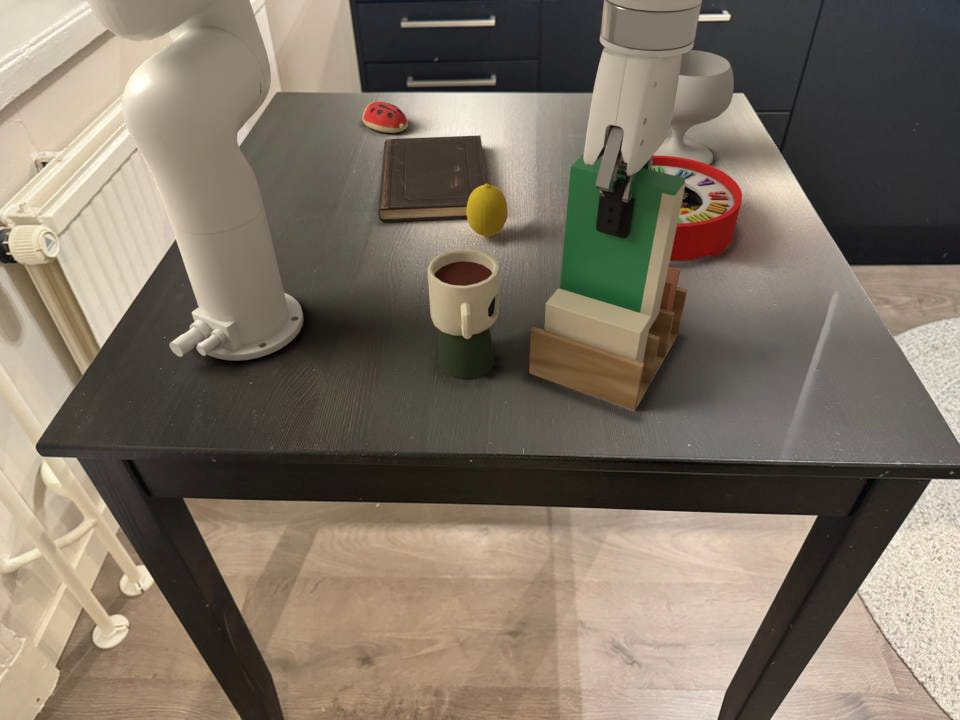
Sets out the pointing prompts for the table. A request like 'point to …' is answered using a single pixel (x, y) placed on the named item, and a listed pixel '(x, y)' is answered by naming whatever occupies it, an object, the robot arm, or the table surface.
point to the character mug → (464, 310)
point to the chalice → (698, 102)
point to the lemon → (486, 210)
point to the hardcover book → (429, 177)
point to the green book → (621, 241)
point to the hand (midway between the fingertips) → (619, 223)
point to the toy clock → (702, 208)
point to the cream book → (597, 324)
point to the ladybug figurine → (384, 117)
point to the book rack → (606, 360)
